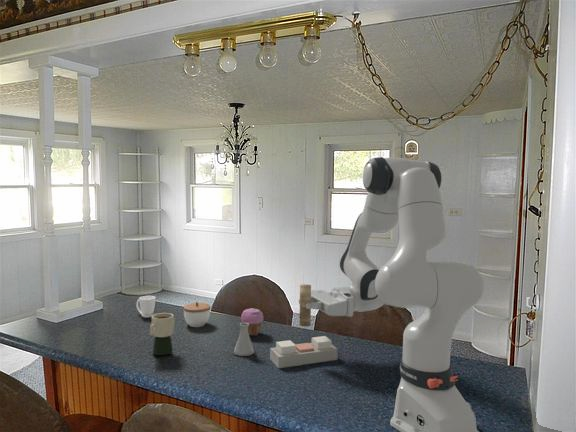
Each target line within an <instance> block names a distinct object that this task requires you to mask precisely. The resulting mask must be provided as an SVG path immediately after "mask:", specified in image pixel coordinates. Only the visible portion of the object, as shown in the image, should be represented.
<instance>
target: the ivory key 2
mask: <svg viewBox="0 0 576 432" xmlns="http://www.w3.org/2000/svg"><path fill="white" fill-rule="evenodd" d="M332 342H333V341H332V340H331V339H330V338H329V337H327V336H326V335H323V336H322V335H321V336H314V337H311V343H312V346H313V347H314V348H315V349H317V350H323V349H330V348H332V345H333V343H332Z"/></svg>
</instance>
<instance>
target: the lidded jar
mask: <svg viewBox="0 0 576 432" xmlns="http://www.w3.org/2000/svg"><path fill="white" fill-rule="evenodd" d="M210 314H211V305H210V304H209V303H205V302H199V301H195V302H191V303H187V304H185V305H184V306H183V316H184V320H185V322H186V323H187V325H188V326H189V327H192V328H200V327H203V326H205V324H207V322H208V321H209V319H210V316H211V315H210Z"/></svg>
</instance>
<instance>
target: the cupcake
mask: <svg viewBox="0 0 576 432" xmlns="http://www.w3.org/2000/svg"><path fill="white" fill-rule="evenodd" d="M240 321H241V323H249V326H248V333H249V336H254V337H256V336H258V335H259V333H260V329H261V325H262V323H263V321H264V313H263V312H262V311H261V310H260V309H257V308H254V307H251V308H246V309H244V310H243V312H242V313H241V316H240Z"/></svg>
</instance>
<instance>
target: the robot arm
mask: <svg viewBox="0 0 576 432" xmlns="http://www.w3.org/2000/svg"><path fill="white" fill-rule="evenodd" d="M364 165H365V166H364V168H363V171H362V172H363V173H362V184H363V187H364V188H365V190H366V191H367V194H366V198H365V203H364V207H363V210H362V211H361V213H360V214H359V215H358V217H357V219H356V221H355V223H354V226H353V229H352V232H351V235H350V238H349V240H348V241H349V242H348V244H347V247H346V249H345V251H344V253H343V254H342V256H341V259H340V261H339V268H340V271H341V272H342V273H343V274H344V275H345V276H346V277H348V279H349V280H350V282H351V285H350V286H342V287H341V286H340V287H338V286H337V287H333V288H332V289H331V290H330V292H328V291H326V290H321V289H320V290H319V289H317V290H315V289H313V290H312V289H311V302H306V303H305V308H307V309H311V310H318V311H319V310H320V312H323V313H324V314H326V315H327V316H329V317H330V316H331V317H349V318H350V317H353V316H354V312H360V313H362V312H369V311H374V310H377V309H379V308H381V307H383V306H384V305H387V306H392V307H396V308H401V309H402V308H403V309H425V310H424V312H423V313H422V315H420V316H419V317H418V318H416V319H415V320H413V321H411V322H410V323H408V324H407V325H406V327H405V329H404V331H403V333H402V337H403V338H402V358H401V359H400V364H399V375H400V377H401V378H400V381H399V385H398V387H397V390H396V397H395V404H394V409H393V410H394V411H393V416H392V417H391V418H390V421H389V422H390V426H391V427H393V428H394V429H395V430H397V431H399V432H480V431H479V430H478V429H477V419H476V415H475V413H474V412H473V410H472V405H471V404H470V402H468V401H466V400H465V399H464V397H463V396H462V394H461V392H460V391H459V390H458V388H457V387H456V384H455V383H456V382H457V381H458V382H459V379H457V378H459V375H455V376H454V374H453V373H454V372H453V371H454V370H453V369H452V365H451V364H450V363H451V351H452V341H453V336H454V333H455V330H456V328H457V325H458V324H459V322H460V320H461V318H463V316H464V315H465V313H466V312H467V311H468V310H469V309H471V308H472V307H473V306H474V305H476V304H478V302H480V300H481V299H482V296H483V293H484V289H485V288H484V286H485V285H484V280H483V277H482V275H481V273H480V272H479V270H478V269H477V268H476V267H475V266H472V265H468V264H466V263H460V262H455V261H451V262H450V261H444V262H443V261H440V262H437V261H436V262H435V261H433V262H432V261H427V253H428V251H430V250H432V249H434V248H435V247H437V246H439V245H440V244H441V243H442V242H443V241H444V239H445V237H446V234H447V229H446V221H445V214H444V207H443V200H442V196H441V191H440V187H441V185H442V180H443V179H442V171H441V170H440V168H439V166H438V164H435V163H434V162H432V161H431V162H430V161H426V160H423V161H421V160H416V159H411V158H405V157H383V156H380V157H373V158H370V159H369V160H368V161H367V162H366V163H365V164H364ZM397 224H398V244H397V246H396V249H395V252H394V254H393V255H392V256H391V258H390V259H389V260H388V261H387V262H386V263H384V265H382V266H381V267H380V268H379V267H378V266H377V265H376V264H374V263H373V261H371V259H370V258H369V257H368V255H367V253H366V249H367V245H368V243H369V240H370V237H371V234H372V233H374V234H375V233H376V234H381V233H387V232H389V231H391V230H393V229H394V228H395V227H396V225H397ZM298 304H299V305H300V298H299V299H298Z"/></svg>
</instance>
